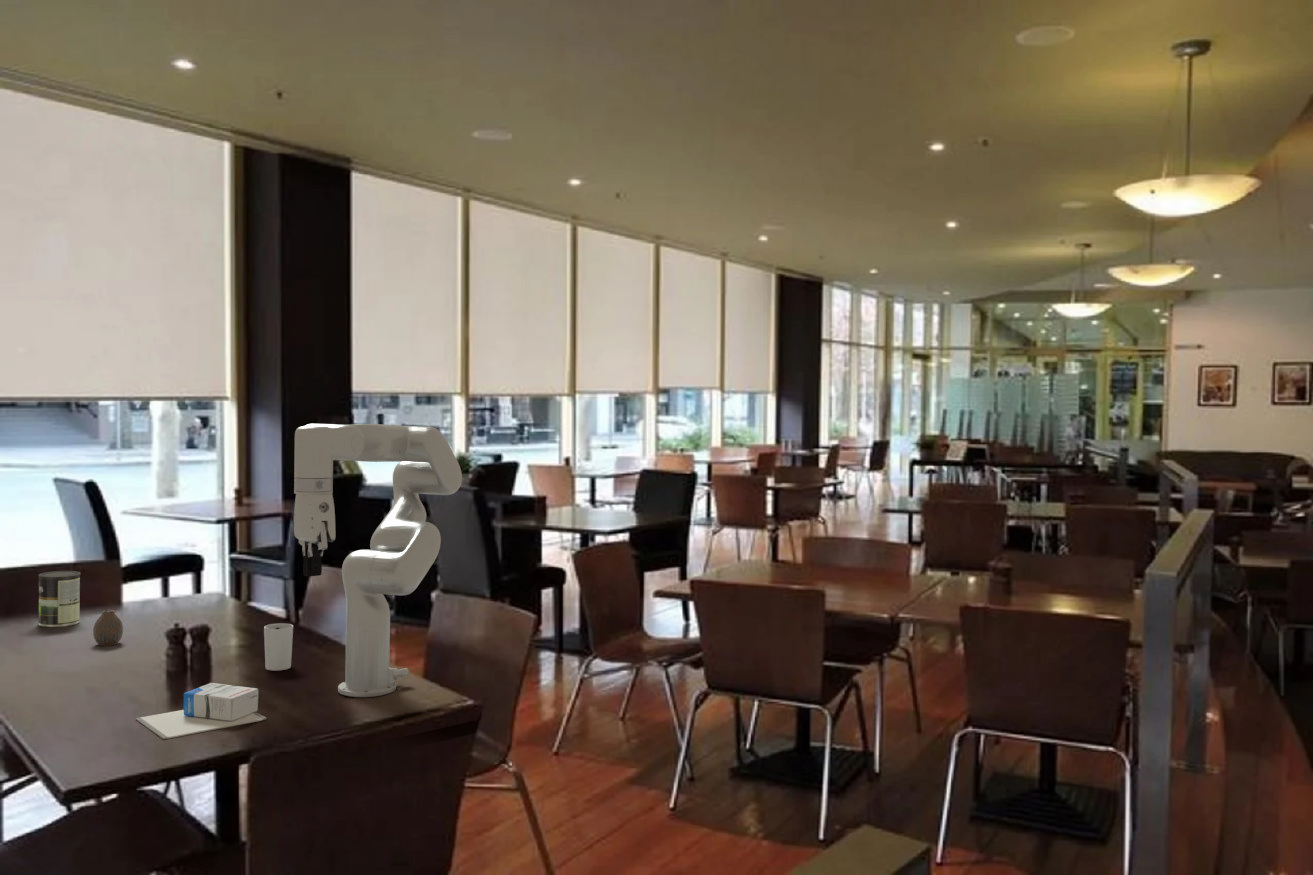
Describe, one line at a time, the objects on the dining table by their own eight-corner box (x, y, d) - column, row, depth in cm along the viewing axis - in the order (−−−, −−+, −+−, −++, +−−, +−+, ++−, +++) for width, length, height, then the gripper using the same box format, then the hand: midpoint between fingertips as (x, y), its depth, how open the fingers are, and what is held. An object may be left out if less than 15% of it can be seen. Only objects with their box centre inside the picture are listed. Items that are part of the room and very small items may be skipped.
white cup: (257, 668, 254) (257, 627, 253) (279, 662, 260) (279, 622, 259) (277, 672, 251) (277, 630, 250) (298, 666, 256) (299, 625, 256)
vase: (107, 648, 270) (107, 614, 270) (86, 645, 272) (87, 612, 272) (129, 642, 276) (129, 609, 276) (108, 640, 279) (108, 607, 278)
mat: (235, 701, 226) (235, 700, 226) (266, 719, 214) (266, 718, 214) (135, 719, 212) (135, 718, 212) (163, 739, 201) (163, 738, 201)
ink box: (182, 715, 214) (231, 723, 211) (183, 691, 214) (231, 698, 211) (212, 704, 222) (259, 711, 219) (212, 681, 222) (259, 687, 219)
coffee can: (36, 628, 290) (36, 577, 290) (40, 621, 299) (40, 571, 299) (78, 625, 294) (79, 575, 294) (81, 618, 304) (81, 569, 303)
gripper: (347, 488, 213) (346, 578, 214) (314, 482, 224) (313, 569, 225) (312, 489, 208) (311, 582, 209) (280, 484, 219) (279, 572, 220)
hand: (312, 575), depth 217 cm, fingers closed
